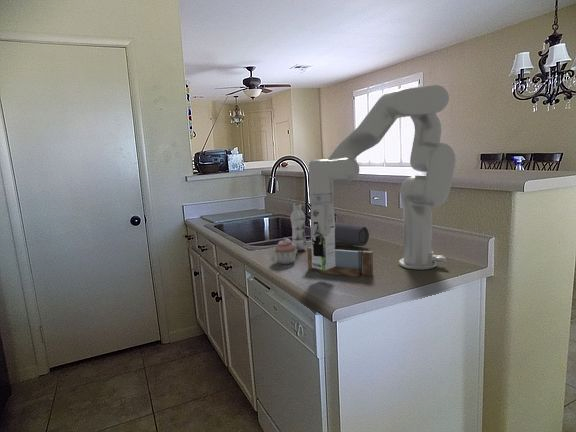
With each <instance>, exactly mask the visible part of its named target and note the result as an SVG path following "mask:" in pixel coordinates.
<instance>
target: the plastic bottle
mask: <svg viewBox="0 0 576 432" xmlns="http://www.w3.org/2000/svg"><path fill="white" fill-rule="evenodd" d="M292 209H293V210H292V211H291V213H290V217H289V218H290V222H291V229H292V230H291V231H292V233H291V234H292V236H291V242H292V243H294V245H295V248H296V249H298V251H303V250H306V248H307V239H306V233H305V221H306V215H305V213H304V211H303V210H302V203H293V204H292Z"/></svg>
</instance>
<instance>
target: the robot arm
mask: <svg viewBox="0 0 576 432" xmlns="http://www.w3.org/2000/svg"><path fill="white" fill-rule="evenodd" d="M449 96H450V95H449V92H448V90H447V89H446V88H445V87H444V86H442V85H440V84H431V85H425V86H415V87H406V88H405V87H404V88H399V89H396V90H393V91H389V92H386V93H384V94H383V95H381V96H380V97H379V98H378V100H377V101H376V102H375V104H374V105H373V107H371V109H370V110H369V112H368V113H367V114H366V116H365V117H364V119H362V121H361V123H359V125H358V126H357V127H356V128H355V129H354V130H353V131H352V132H350V134H348V135H347V136H346V137H345V138H344V139H343V140H342V141H341V142H340V143H339V144H338V145H337V146H336V148H335V149H334V150H333V152H332V153H331V155H330V156H329V157H328V158H327V159H325V158H324V159H323V158H322V159H313V160H310V161H309V163H308V184H309V185H308V187H309V192H308V193H309V204H310V238H311V237H312V241H313V242H312V243H313V255H314V256H320V257H322V256H323V244H322V239H323V236H322V235H324V236H327V235H328V234H330V224H334V225H335V222H336V220H335V219H336V218H335V217H336V216H335V207H334V201H335V200H334V182H344V183H347V182H351V181H354V180H355V179H356V178H357V177H358V176H359V174H360V166H359V163H358V162H357V161H356V160H355V159H356V158H357V157H358V156H360V155H361V154H362V153H364V152H365V151H367V150H370V149H371V148H373V147H375V146H376V145H378V144H379V143H380V142H381V141H382V140H383V138H384V137H385V135H386V134H387V132H388V131H390V129H391V127H392V126H393V124H394V123H395V122H396V121H397V120H398V119H400V118H405V117H410V119H411V120H412V122H413V125H414V126H413V127H414V135H413V139H412V140H413V141H412V147H411V153H410V157H409V159H410V160H409V163H410V166H411V168H412V169H413V171H416V172H421V173H425V175H418V174H417V175H411V176H409V177H406V178H405V179H404V180H403V182H402V183H401V186H400V197H401V203H402V209H403V211H402V212H403V214H402V215H403V221H402V222H403V226H402V227H403V228H402V229H403V237H402V238H403V257H402V258H401V259H399V260H398V264H399V265H400V266H401V267H402V268H406V269H409V270H421V271H422V270H431V269H434V268H436V266H437V263H443V264H445V263H446V257H445V256H443V255H436V254H434V253H435V252H434V251H433V213H432V212H433V211H432V208H431V207H439V206H441V205H443V204H445V202H446V201H447V199H448V197H449V195H450V191H451V187H452V183H453V182H452V181H453V177H454V172H455V168H456V167H455V166H456V154H455V153H456V152H455V151H454V149H453V147H452V146H451V145H449V144H448V143H444V142H441V136H442V123H441V121H440V118H439V116H438V115H437V113H440V112H442V111H443V110H445V108H446V107H447V105H448V104H449V100H450V99H449V98H450V97H449ZM319 232H320V233H321V234H316V233H319ZM318 237H320V239H319V238H318Z"/></svg>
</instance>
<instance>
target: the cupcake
mask: <svg viewBox="0 0 576 432" xmlns="http://www.w3.org/2000/svg"><path fill="white" fill-rule="evenodd" d="M298 251H299V250H298V249H296V248H295V245H294V243H292V239H290V238H288V237H285V236H284V237H283V239H282V240H279V241H278V243H277V244H276V245H275V249H274V250H273V253H274V255H275V256H276V259H277V262H278V264H280V265H292V264H293V263H295V261H296V257H297V253H298Z"/></svg>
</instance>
